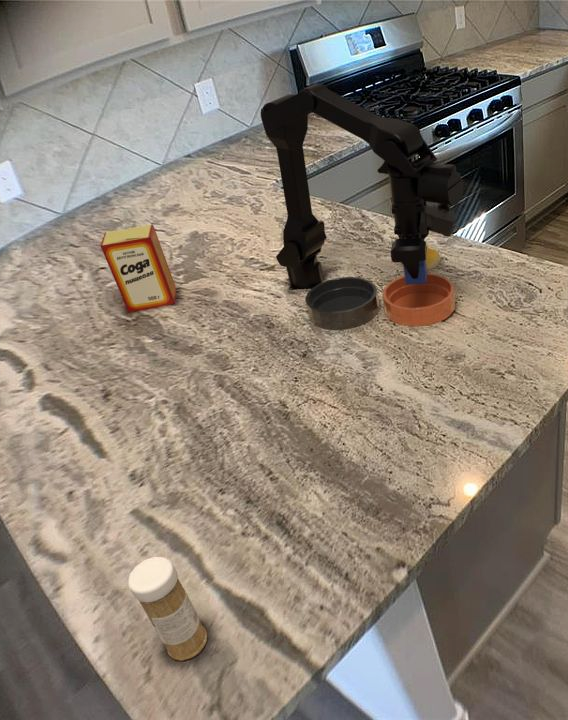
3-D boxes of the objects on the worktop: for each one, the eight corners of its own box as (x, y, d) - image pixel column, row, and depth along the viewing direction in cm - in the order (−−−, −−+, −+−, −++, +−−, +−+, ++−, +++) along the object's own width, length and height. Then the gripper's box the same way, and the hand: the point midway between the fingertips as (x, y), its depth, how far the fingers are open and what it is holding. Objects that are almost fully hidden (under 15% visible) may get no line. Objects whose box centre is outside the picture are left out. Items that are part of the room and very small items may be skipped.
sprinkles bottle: (172, 630, 79) (132, 559, 71) (211, 622, 79) (175, 551, 71) (164, 666, 75) (122, 595, 67) (206, 658, 76) (168, 587, 68)
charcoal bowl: (303, 334, 130) (298, 314, 127) (316, 297, 141) (312, 278, 139) (375, 330, 129) (372, 311, 126) (383, 293, 141) (380, 275, 138)
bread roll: (420, 276, 146) (418, 260, 143) (396, 263, 151) (394, 247, 149) (449, 263, 150) (447, 247, 148) (424, 251, 156) (423, 235, 153)
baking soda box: (128, 312, 141) (99, 243, 131) (131, 297, 146) (104, 230, 136) (174, 303, 142) (149, 235, 133) (176, 289, 148) (152, 222, 138)
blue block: (405, 284, 129) (403, 266, 127) (407, 274, 132) (405, 256, 130) (426, 283, 129) (424, 265, 126) (427, 273, 132) (425, 255, 130)
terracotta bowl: (382, 330, 129) (379, 310, 126) (389, 293, 141) (386, 274, 138) (454, 327, 129) (453, 307, 126) (455, 290, 140) (454, 271, 137)
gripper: (450, 216, 113) (456, 295, 122) (452, 176, 128) (457, 249, 137) (385, 219, 113) (396, 298, 122) (395, 179, 128) (404, 252, 137)
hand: (415, 273), depth 130 cm, fingers closed on blue block, 4 cm apart
